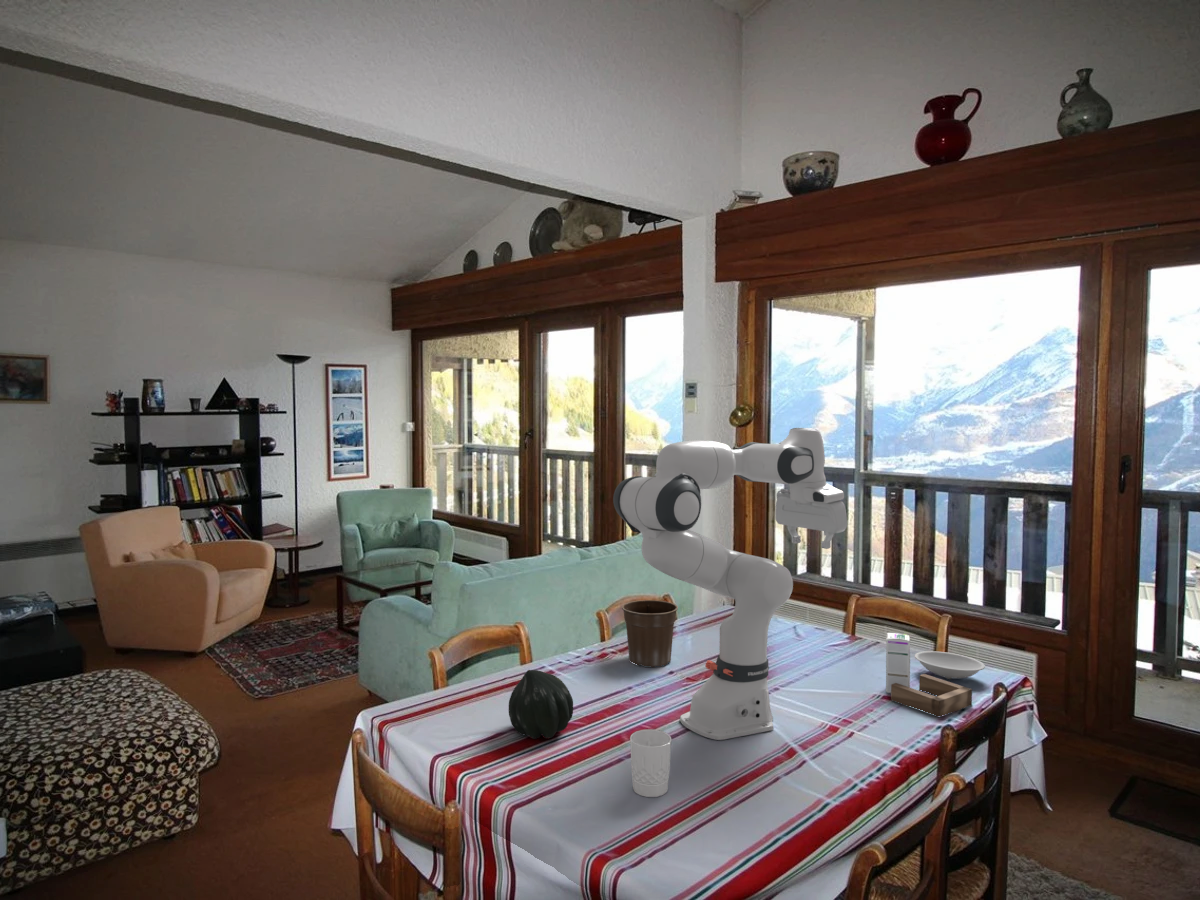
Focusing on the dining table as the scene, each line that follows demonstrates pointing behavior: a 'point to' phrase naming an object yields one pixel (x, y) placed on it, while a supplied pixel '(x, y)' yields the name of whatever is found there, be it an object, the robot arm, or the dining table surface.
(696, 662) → the dining table surface
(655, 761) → the white cup
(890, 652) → the syrup box
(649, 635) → the plant pot
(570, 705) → the squash
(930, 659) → the dish
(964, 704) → the walnut bay
